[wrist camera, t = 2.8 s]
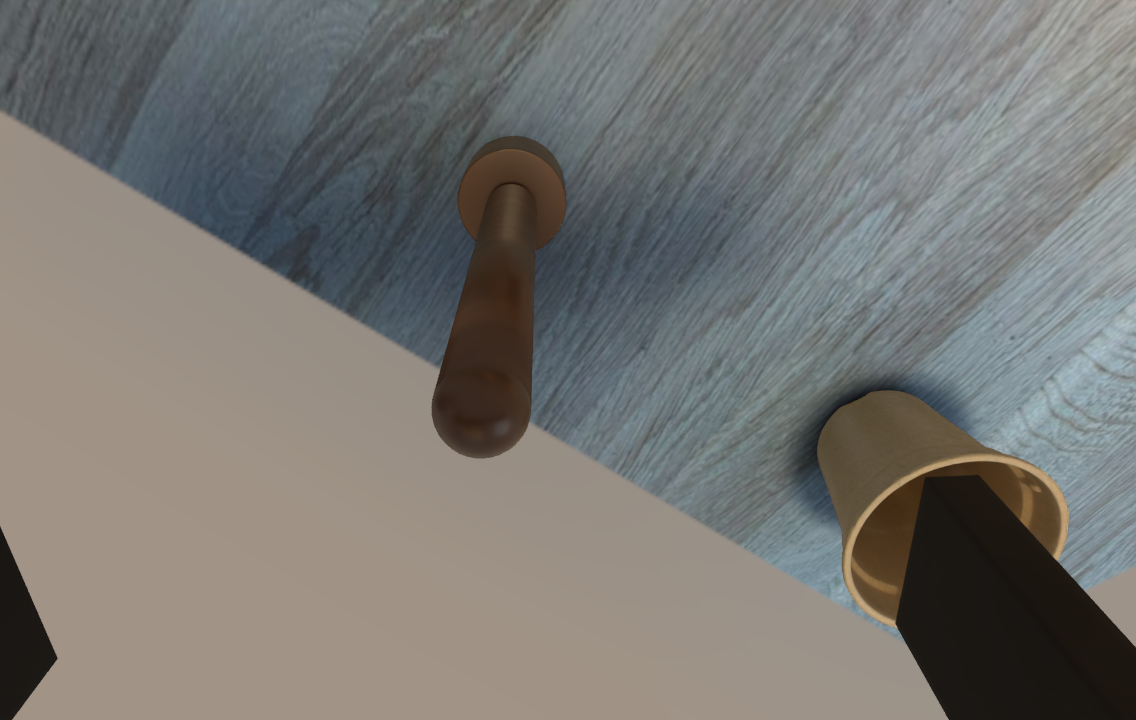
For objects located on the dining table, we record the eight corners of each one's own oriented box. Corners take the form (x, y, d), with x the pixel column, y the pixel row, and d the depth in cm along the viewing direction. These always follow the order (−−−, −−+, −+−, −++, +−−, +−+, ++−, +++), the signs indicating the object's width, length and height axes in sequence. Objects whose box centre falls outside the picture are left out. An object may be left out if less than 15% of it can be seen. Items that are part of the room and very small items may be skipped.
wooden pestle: (469, 237, 34) (377, 532, 15) (460, 137, 32) (344, 332, 13) (566, 234, 34) (595, 522, 15) (562, 134, 32) (591, 322, 14)
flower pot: (960, 500, 41) (1056, 617, 34) (788, 526, 42) (844, 647, 34) (971, 346, 37) (1084, 438, 30) (781, 376, 38) (843, 475, 30)
